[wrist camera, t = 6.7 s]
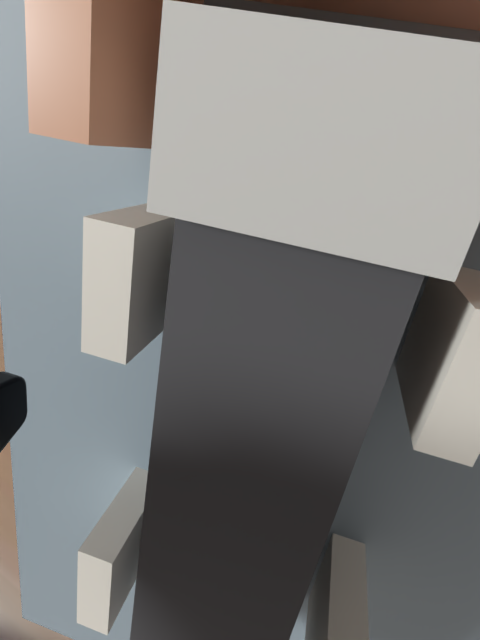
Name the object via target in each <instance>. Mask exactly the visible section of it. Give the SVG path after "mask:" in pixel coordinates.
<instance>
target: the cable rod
mask: <svg viewBox="0 0 480 640" xmlns="http://www.w3.org/2000/svg"><path fill="white" fill-rule="evenodd" d="M146 212H150V213H155V214H159V215H163V216H168V217H172V218H175V225H174V235H173V244H172V253H171V262H170V272H169V281H168V290H167V299H166V309H165V318H164V327H163V336H162V346H161V355H160V364H159V373H158V383H157V392H156V401H155V410H154V420H153V429H152V438H151V447H150V457H149V466H148V475H147V484H146V494H145V503H144V512H143V521H142V531H141V540H140V549H139V558H138V568H137V577H136V586H135V595H134V605H133V614H132V623H131V632H130V640H289V639H290V636H291V633H292V631H293V628H294V625H295V623H296V620H297V617H298V615H299V612H300V609H301V607H302V604H303V601H304V599H305V596H306V593H307V591H308V588H309V585H310V583H311V580H312V577H313V575H314V572H315V569H316V566H317V564H318V561H319V558H320V556H321V553H322V550H323V548H324V545H325V542H326V540H327V537H328V534H329V532H330V529H331V526H332V524H333V521H334V518H335V516H336V513H337V510H338V508H339V505H340V502H341V499H342V497H343V494H344V491H345V489H346V486H347V483H348V481H349V478H350V475H351V473H352V470H353V467H354V465H355V462H356V459H357V457H358V454H359V451H360V449H361V446H362V443H363V441H364V438H365V435H366V433H367V430H368V427H369V424H370V422H371V419H372V416H373V414H374V411H375V408H376V406H377V403H378V400H379V398H380V395H381V392H382V390H383V387H384V384H385V382H386V379H387V376H388V374H389V371H390V368H391V366H392V363H393V360H394V357H395V355H396V352H397V349H398V347H399V344H400V341H401V339H402V336H403V333H404V331H405V328H406V325H407V323H408V320H409V317H410V315H411V312H412V309H413V307H414V304H415V301H416V299H417V296H418V293H419V291H420V288H421V285H422V282H423V280H424V277H425V275H426V276H430V277H434V278H439V279H443V280H448V281H452V282H455V281H456V278H457V276H458V274H459V271H460V269H461V266H462V264H463V261H464V259H465V256H466V254H467V251H468V249H469V247H470V244H471V242H472V239H473V237H474V234H475V232H476V229H477V227H478V224H479V222H480V43H479V42H472V41H464V40H457V39H450V38H442V37H435V36H428V35H420V34H413V33H406V32H399V31H391V30H384V29H377V28H369V27H362V26H355V25H348V24H340V23H333V22H326V21H318V20H311V19H304V18H296V17H289V16H282V15H275V14H267V13H260V12H253V11H245V10H238V9H231V8H224V7H216V6H209V5H202V4H194V3H187V2H180V1H172V0H163V7H162V19H161V32H160V45H159V57H158V70H157V83H156V95H155V108H154V120H153V133H152V146H151V158H150V171H149V183H148V196H147V209H146Z"/></svg>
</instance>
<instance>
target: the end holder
mask: <svg viewBox="0 0 480 640" xmlns="http://www.w3.org/2000/svg"><path fill="white" fill-rule="evenodd" d="M172 1H180V2H187V3H194V4H202V5H204V0H172ZM247 1H255V2H262V3H270V4H278V5H285V6H293V7H301V8H308V9H316V10H324V11H331V12H339V13H347V14H354V15H362V16H370V17H377V18H385V19H393V20H400V21H408V22H416V23H424V24H431V25H439V26H447V27H454V28H462V29H470V30H477V31H480V0H247ZM24 2H25V32H26V61H27V91H28V120H29V133H32V134H36V135H41V136H46V137H51V138H56V139H61V140H66V141H71V142H76V143H81V144H86V145H95V146H112V147H129V148H146V149H151V146H152V133H153V120H154V108H155V95H156V83H157V70H158V57H159V45H160V32H161V19H162V7H163V0H24Z"/></svg>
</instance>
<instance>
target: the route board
mask: <svg viewBox="0 0 480 640" xmlns="http://www.w3.org/2000/svg"><path fill="white" fill-rule="evenodd" d="M204 5H209V6H216V7H224V8H231V9H238V10H245V11H253V12H260V13H267V14H275V15H282V16H289V17H296V18H304V19H311V20H318V21H326V22H333V23H340V24H348V25H355V26H362V27H369V28H377V29H384V30H391V31H399V32H406V33H413V34H420V35H428V36H435V37H442V38H450V39H457V40H464V41H472V42H479V43H480V31H477V30H470V29H462V28H454V27H447V26H439V25H431V24H424V23H416V22H408V21H400V20H393V19H385V18H377V17H370V16H362V15H354V14H347V13H339V12H331V11H324V10H316V9H308V8H301V7H293V6H285V5H278V4H270V3H262V2H255V1H247V0H204ZM150 158H151V149H146V148H129V147H112V146H95V145H86V144H81V143H76V142H71V141H66V140H61V139H56V138H51V137H46V136H41V135H36V134H32V133H29V120H28V91H27V61H26V32H25V2H24V0H0V304H1V318H2V332H3V346H4V361H5V372H9V373H12V374H15V375H18V376H21V377H23V378H24V379H25V381H26V387H27V409H28V411H27V417H26V419H25V422H24V423H23V425H22V426H21V427H20V429H19V430H18V431H17V432H16V434H15V435H14V436H13V437H12V439H11V440H10V446H11V460H12V474H13V489H14V503H15V517H16V531H17V545H18V560H19V574H20V588H21V602H22V617H23V618H24V619H27V620H29V621H31V622H34V623H36V624H38V625H41V626H43V627H46V628H48V629H50V630H53V631H55V632H57V633H60V634H62V635H64V636H67V637H69V638H72V639H74V640H130V632H131V623H132V614H133V605H134V595H135V586H136V577H137V568H138V558H139V549H140V540H141V531H142V521H143V512H144V503H145V494H146V484H147V475H148V466H149V457H150V447H151V438H152V429H153V420H154V410H155V401H156V392H157V383H158V373H159V364H160V355H161V346H162V336H163V327H164V318H165V309H166V299H167V290H168V281H169V272H170V262H171V253H172V244H173V235H174V225H175V218H172V217H168V216H163V215H159V214H155V213H150V212H146V209H147V196H148V183H149V171H150ZM289 640H480V222H479V224H478V227H477V229H476V232H475V234H474V237H473V239H472V242H471V244H470V247H469V249H468V251H467V254H466V256H465V259H464V261H463V264H462V266H461V269H460V271H459V274H458V276H457V278H456V281H455V282H452V281H448V280H443V279H439V278H434V277H430V276H426V275H425V277H424V280H423V282H422V285H421V288H420V291H419V293H418V296H417V299H416V301H415V304H414V307H413V309H412V312H411V315H410V317H409V320H408V323H407V325H406V328H405V331H404V333H403V336H402V339H401V341H400V344H399V347H398V349H397V352H396V355H395V357H394V360H393V363H392V366H391V368H390V371H389V374H388V376H387V379H386V382H385V384H384V387H383V390H382V392H381V395H380V398H379V400H378V403H377V406H376V408H375V411H374V414H373V416H372V419H371V422H370V424H369V427H368V430H367V433H366V435H365V438H364V441H363V443H362V446H361V449H360V451H359V454H358V457H357V459H356V462H355V465H354V467H353V470H352V473H351V475H350V478H349V481H348V483H347V486H346V489H345V491H344V494H343V497H342V499H341V502H340V505H339V508H338V510H337V513H336V516H335V518H334V521H333V524H332V526H331V529H330V532H329V534H328V537H327V540H326V542H325V545H324V548H323V550H322V553H321V556H320V558H319V561H318V564H317V566H316V569H315V572H314V575H313V577H312V580H311V583H310V585H309V588H308V591H307V593H306V596H305V599H304V601H303V604H302V607H301V609H300V612H299V615H298V617H297V620H296V623H295V625H294V628H293V631H292V633H291V636H290V639H289Z"/></svg>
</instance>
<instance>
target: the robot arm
mask: <svg viewBox="0 0 480 640" xmlns="http://www.w3.org/2000/svg"><path fill="white" fill-rule="evenodd" d="M27 411H28V409H27V387H26V381H25V379H24V378H23V377H21V376H18V375H15V374H12V373H9V372H0V452H1V451H2V450H3V448H4V447H5V446H6V445H7V443H8V442H9V441H10V440H11V439H12V437H13V436H14V435H15V434H16V432H17V431H18V430H19V429H20V427H21V426H22V425H23V423H24V422H25V419H26V417H27Z"/></svg>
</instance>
